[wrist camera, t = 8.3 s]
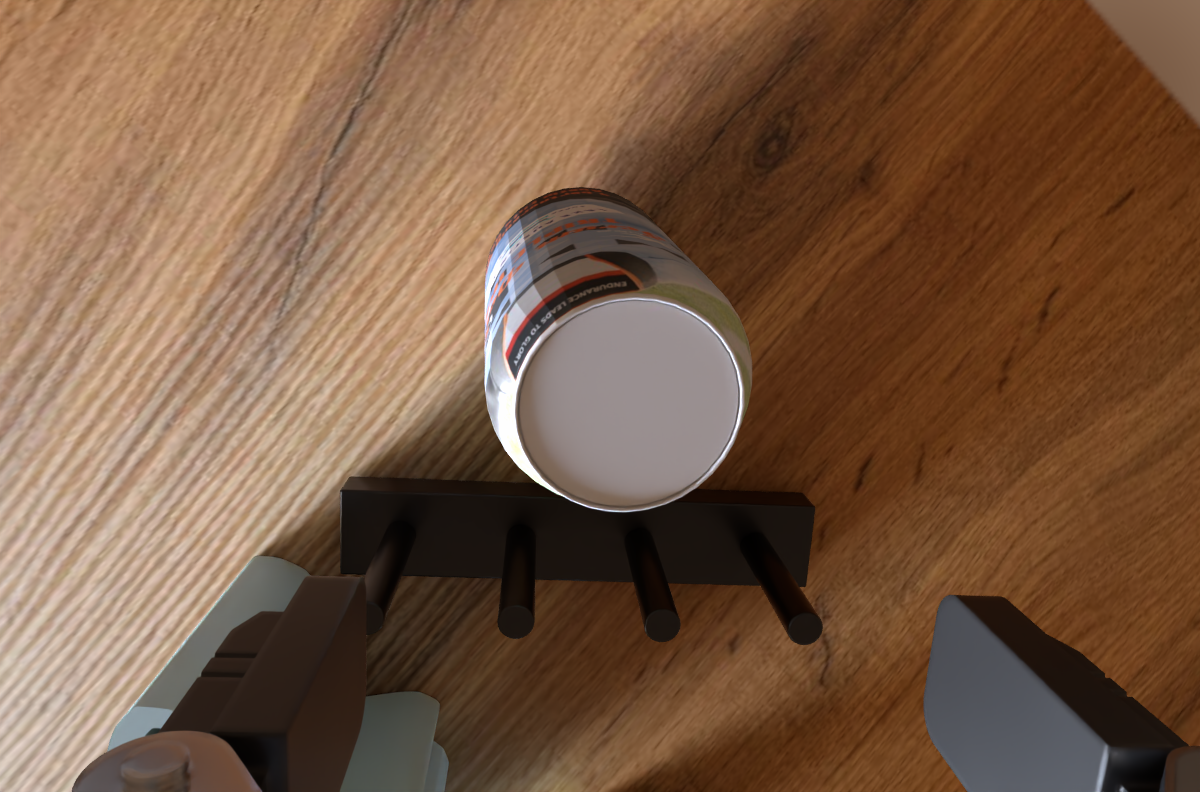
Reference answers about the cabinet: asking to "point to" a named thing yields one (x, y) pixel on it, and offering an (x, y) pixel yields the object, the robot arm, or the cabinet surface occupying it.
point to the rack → (576, 546)
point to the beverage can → (609, 354)
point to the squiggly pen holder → (390, 721)
